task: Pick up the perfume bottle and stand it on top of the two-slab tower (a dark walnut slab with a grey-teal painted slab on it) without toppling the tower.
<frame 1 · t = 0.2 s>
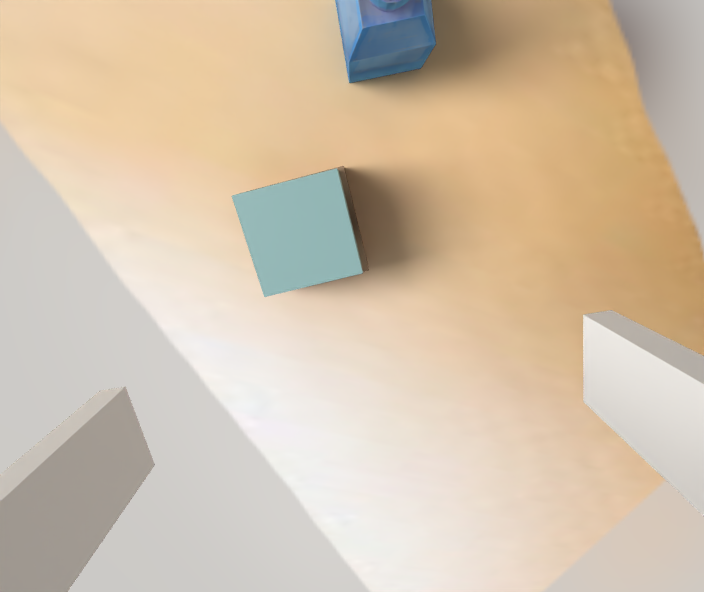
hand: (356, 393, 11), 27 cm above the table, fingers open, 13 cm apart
teal slab: (304, 229, 33), point 4 cm above the table
perfume bottle: (378, 35, 33), on the table
walnut slab: (310, 227, 37), on the table
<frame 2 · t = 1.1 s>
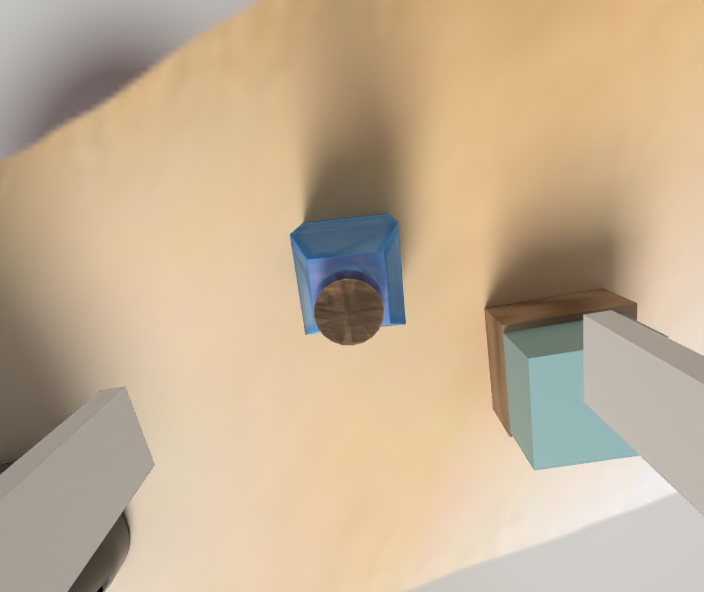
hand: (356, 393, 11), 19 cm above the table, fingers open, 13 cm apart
teal slab: (563, 375, 28), point 4 cm above the table, touching walnut slab
perfume bottle: (350, 259, 29), on the table
walnut slab: (543, 350, 31), on the table, touching teal slab
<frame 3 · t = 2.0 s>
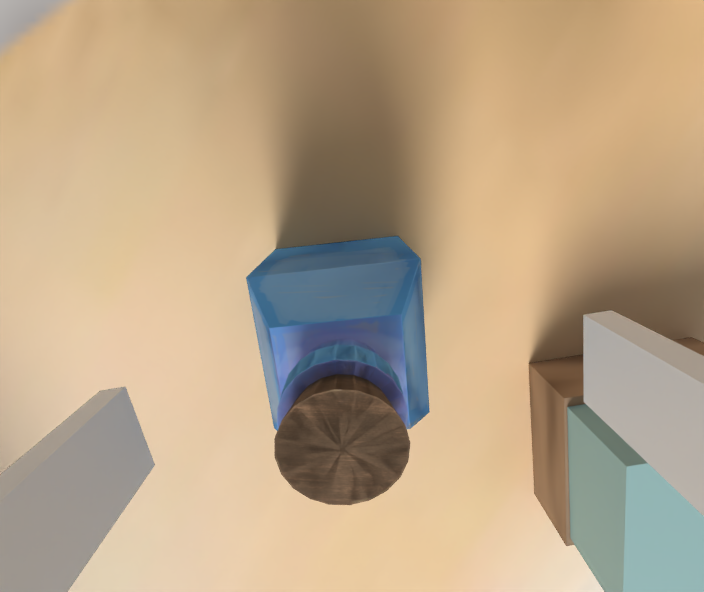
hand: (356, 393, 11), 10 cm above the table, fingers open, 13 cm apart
teal slab: (649, 463, 19), point 4 cm above the table
perfume bottle: (343, 299, 21), on the table
walnut slab: (604, 416, 23), on the table
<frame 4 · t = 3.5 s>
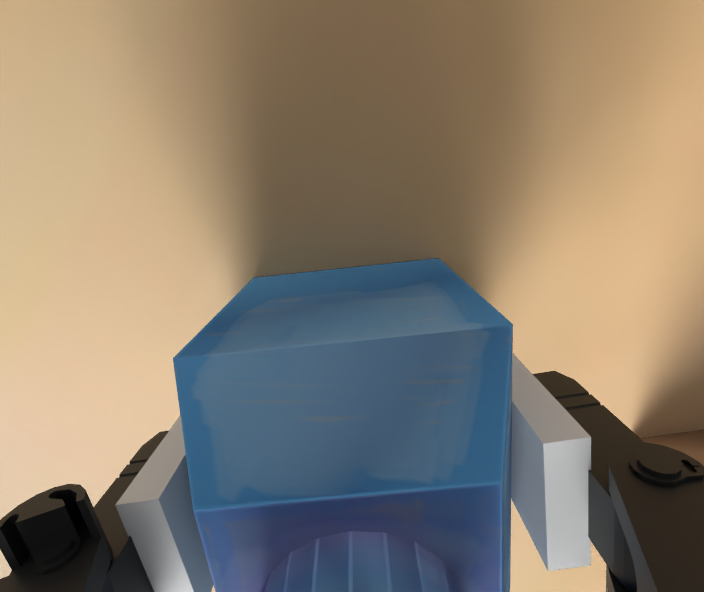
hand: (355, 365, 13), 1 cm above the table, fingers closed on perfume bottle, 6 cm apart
perfume bottle: (355, 350, 14), on the table, touching gripper
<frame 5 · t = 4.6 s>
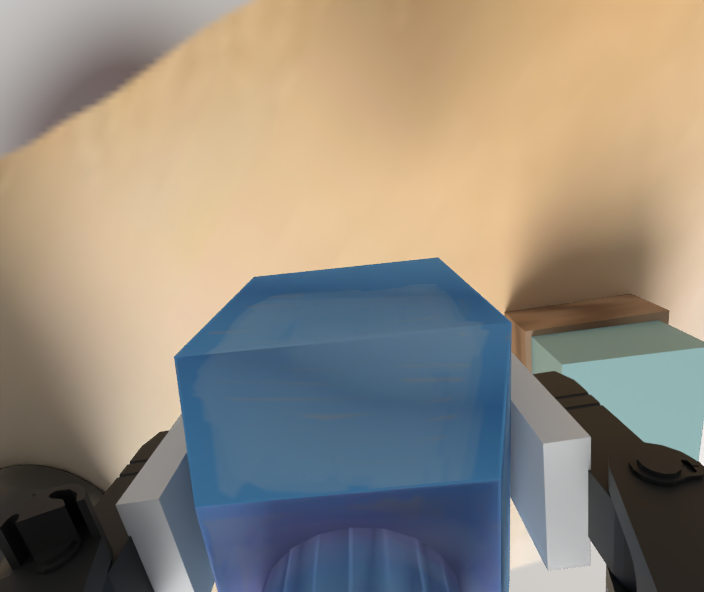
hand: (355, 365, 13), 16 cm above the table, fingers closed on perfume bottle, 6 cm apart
teal slab: (592, 383, 26), point 4 cm above the table
perfume bottle: (355, 349, 14), point 14 cm above the table, touching gripper
walnut slab: (565, 356, 30), on the table
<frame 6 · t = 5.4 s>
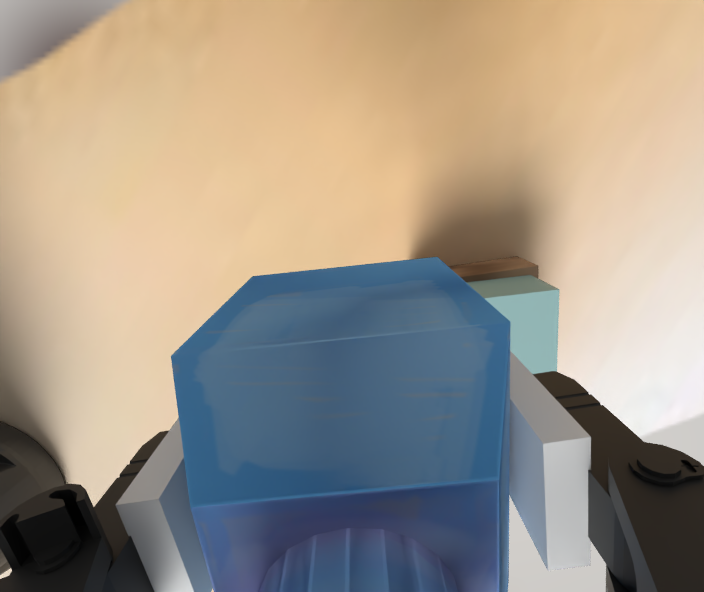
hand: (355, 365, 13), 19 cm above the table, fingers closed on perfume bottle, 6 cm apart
teal slab: (476, 332, 30), point 4 cm above the table, touching walnut slab
perfume bottle: (354, 349, 14), point 18 cm above the table, touching gripper
walnut slab: (463, 315, 33), on the table, touching teal slab
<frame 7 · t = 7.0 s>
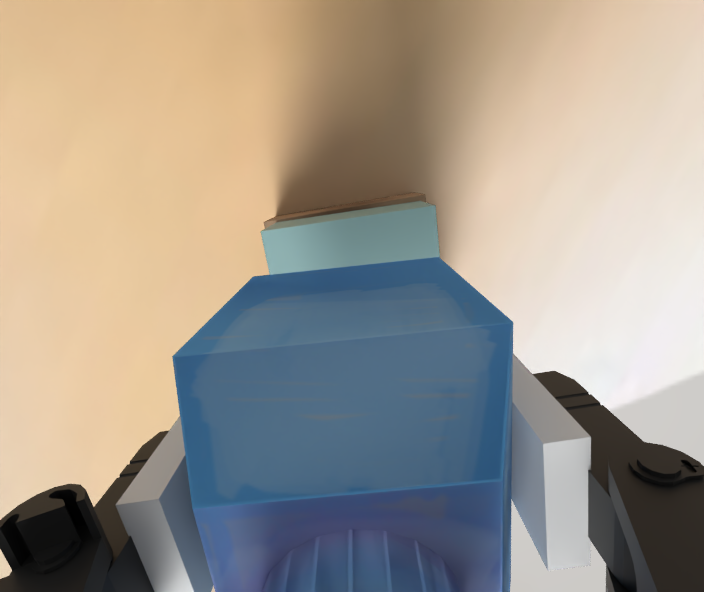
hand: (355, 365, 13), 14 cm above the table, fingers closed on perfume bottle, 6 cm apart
teal slab: (358, 281, 23), point 4 cm above the table, touching walnut slab
perfume bottle: (355, 349, 14), point 13 cm above the table, touching gripper
walnut slab: (355, 271, 27), on the table, touching teal slab
when the fingers open (11 cm above the table, at t = 7.9 s): perfume bottle drops 2 cm, resting on teal slab.
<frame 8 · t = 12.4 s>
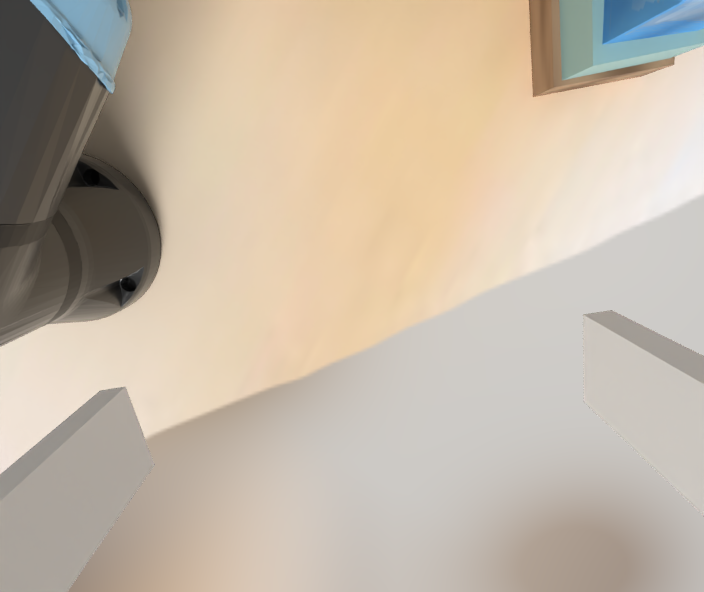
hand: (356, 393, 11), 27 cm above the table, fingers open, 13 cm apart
teal slab: (615, 8, 28), point 4 cm above the table, touching perfume bottle, walnut slab
walnut slab: (583, 28, 32), on the table, touching teal slab
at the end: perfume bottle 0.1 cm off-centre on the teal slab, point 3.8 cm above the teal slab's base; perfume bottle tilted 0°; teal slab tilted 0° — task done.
